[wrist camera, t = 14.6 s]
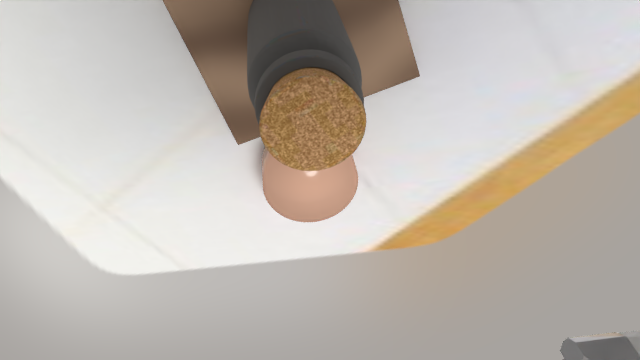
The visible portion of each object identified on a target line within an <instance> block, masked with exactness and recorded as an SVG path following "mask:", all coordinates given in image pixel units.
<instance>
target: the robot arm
mask: <svg viewBox="0 0 640 360" xmlns="http://www.w3.org/2000/svg"><path fill="white" fill-rule="evenodd" d="M560 351H561V353H562V355H563V357H564V359H563V360H640V331H632V332H622V333H616V332H614V333H606V334H597V335H589V336H579V337H570V338H567V339H566V340H565V341H563V343H562V347H561V350H560Z"/></svg>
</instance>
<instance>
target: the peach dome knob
mask: <svg viewBox="0 0 640 360" xmlns="http://www.w3.org/2000/svg"><path fill="white" fill-rule="evenodd" d="M262 176H263V191H264V195H265V197H266V200H267V201H268V203H269V204H270V206H271V207H272V208H273V209H274V210H275V211H276V212H277V213H279V214H280V215H282V216H284V217H286V218H288V219H291V220H294V221H299V222H316V221H321V220H325V219H328V218H330V217H332V216H334V215H336V214H338V213H339V212H341V211H342V210H343V209H344V208H345V207H346V206H347V205H348V204H349V203H350V202H351V200H352V199H353V197H354V195H355V193H356V190H357V185H358V174H357V170H356V166H355V163H354V160H353V156H352V155H350V156H349V157H348V158H347V159H346V160H344V161H343V162H341V163H340V164H337V165H335V166H333V167H331V168H328V169H324V170H319V171H302V170H297V169H293V168H291V167H288V166H286V165H284V164H282V163H280V162H279V161H277V160H276V159H275V158H274V157H273V156H272V155H271V154H270V153H269V152H268V150H267V149H266V147H265V148H264V151H263V155H262Z"/></svg>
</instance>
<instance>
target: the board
mask: <svg viewBox="0 0 640 360" xmlns="http://www.w3.org/2000/svg"><path fill="white" fill-rule="evenodd" d="M332 1H333V3H334V5H335V7H336V9H337V11H338V13H339V16H340V18H341V20H342V23H343V25H344V27H345V30H346V32H347V34H348V36H349V39H350V41H351V43H352V46H353V48H354V51H355V53H356V56H357V58H358V61H359V65H360V69H361V75H362V87H361V89H362V92H363V97H366V96H369V95H371V94H374V93H377V92H379V91H382V90H385V89H387V88H390V87H393V86H395V85H398V84H400V83H403V82H406V81H408V80H411V79H414V78H416V77H419V76H420V75H419V71H418V68H417V64H416V61H415V57H414V54H413V50H412V47H411V43H410V40H409V36H408V33H407V29H406V26H405V22H404V19H403V15H402V12H401V8H400V5H399V2H398V0H332ZM163 2H164V4H165V6H166V8H167V10H168V11H169V13H170V15H171V17H172V19H173V21H174V23H175V25H176V27H177V29H178V31H179V33H180V34H181V36H182V38H183V40H184V42H185V44H186V46H187V48H188V50H189V52H190V54H191V55H192V57H193V59H194V61H195V63H196V65H197V67H198V69H199V71H200V73H201V75H202V77H203V78H204V80H205V82H206V84H207V86H208V88H209V90H210V92H211V94H212V96H213V98H214V100H215V101H216V103H217V105H218V107H219V109H220V111H221V113H222V115H223V117H224V119H225V121H226V123H227V124H228V126H229V128H230V130H231V132H232V134H233V136H234V138H235V140H236V142H237V144H238V145H239V144H242V143H245V142H247V141H250V140H253V139H255V138H258V137H261V136H260V129H259V124H258V122H257V118H256V114H255V108H254V107H253V104H252V102H251V100H250V97H249V92H248V84H247V30H248V14H249V10H250V6H251V4H252V2H253V0H163Z"/></svg>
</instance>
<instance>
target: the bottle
mask: <svg viewBox="0 0 640 360" xmlns="http://www.w3.org/2000/svg"><path fill="white" fill-rule="evenodd" d="M247 84H248V92H249V97H250V100H251V102H252V104H253V107H254V108H255V114H256V118H257V122H258V124H259V129H260V136H261V138H262V141H263V143H264V145H265V147H266V149H267V150H268V152H269V153H270V154H271V155H272V156H273V157H274V158H275V159H276V160H277V161H279V162H280V163H282V164H284V165H286V166H288V167H291V168H293V169H297V170H302V171H319V170H324V169H328V168H331V167H333V166H335V165H337V164H340V163H341V162H343V161H344V160H346V159H347V158H348V157H349V156H350V155H352V154H353V152H354V151H355V150H356V149H357V147H358V146H359V144H360V143H361V140H362V138H363V136H364V133H365V127H366V113H365V109H364V98H363V92H362V89H361V87H362V75H361V69H360V65H359V61H358V58H357V56H356V53H355V51H354V48H353V46H352V43H351V41H350V39H349V36H348V34H347V32H346V30H345V27H344V25H343V23H342V20H341V18H340V16H339V13H338V11H337V9H336V7H335V5H334V3H333V1H332V0H253V2H252V4H251V6H250V10H249V14H248V30H247Z"/></svg>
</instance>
